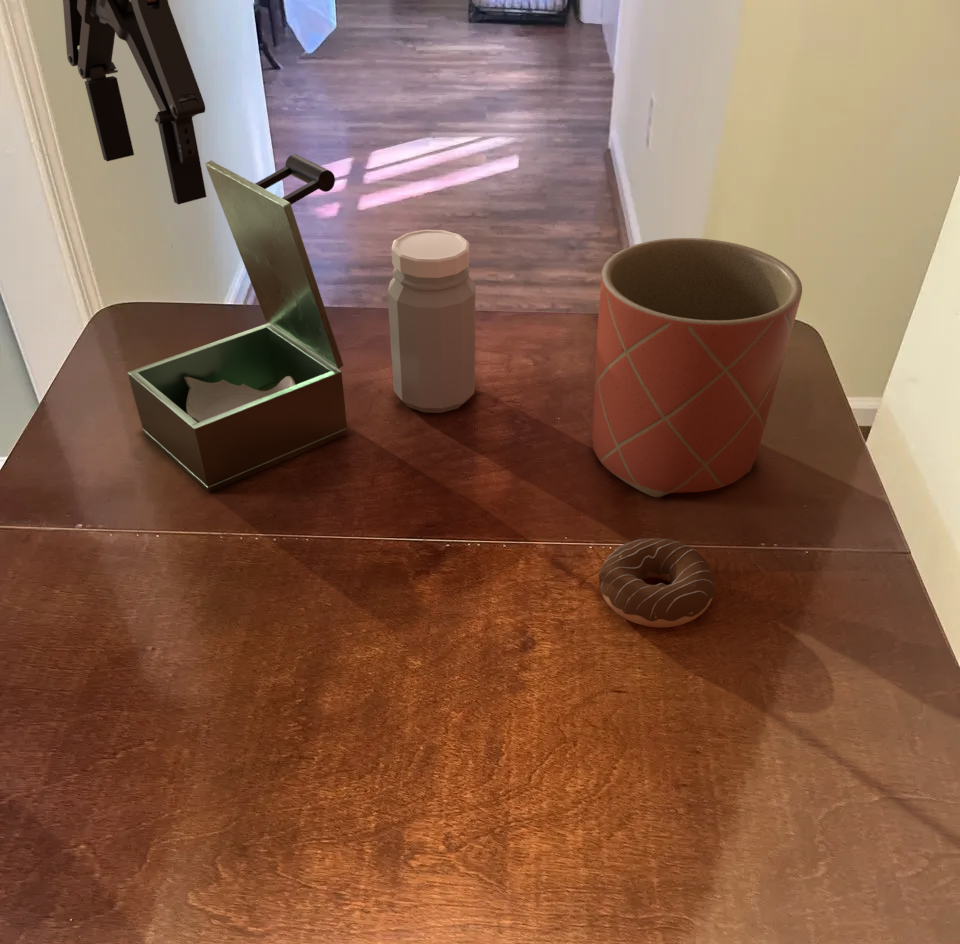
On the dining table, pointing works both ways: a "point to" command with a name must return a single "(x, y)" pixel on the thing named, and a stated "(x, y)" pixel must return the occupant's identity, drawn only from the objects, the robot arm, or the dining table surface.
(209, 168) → the lid
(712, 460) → the planter
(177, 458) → the compartment
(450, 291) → the jar
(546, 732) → the dining table surface
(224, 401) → the pottery shard
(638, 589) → the donut
